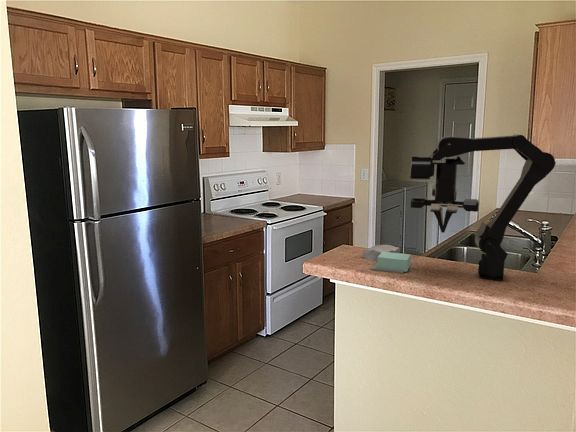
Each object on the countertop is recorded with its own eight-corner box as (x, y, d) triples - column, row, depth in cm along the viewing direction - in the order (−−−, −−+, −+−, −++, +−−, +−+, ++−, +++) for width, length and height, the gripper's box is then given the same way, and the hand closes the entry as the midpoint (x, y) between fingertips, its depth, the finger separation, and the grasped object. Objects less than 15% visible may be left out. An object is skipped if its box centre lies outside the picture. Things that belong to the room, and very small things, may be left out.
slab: (411, 254, 150) (382, 251, 154) (407, 260, 144) (377, 257, 148) (410, 265, 151) (382, 262, 155) (406, 271, 145) (377, 268, 148)
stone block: (360, 264, 161) (387, 263, 155) (358, 250, 161) (385, 248, 155) (376, 257, 170) (402, 256, 164) (374, 244, 170) (400, 242, 164)
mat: (407, 266, 152) (407, 265, 152) (403, 273, 144) (403, 272, 144) (376, 262, 156) (376, 261, 155) (370, 269, 148) (370, 268, 148)
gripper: (481, 178, 143) (477, 229, 146) (417, 176, 150) (415, 224, 153) (479, 182, 133) (476, 237, 136) (411, 179, 140) (409, 231, 143)
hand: (442, 232), depth 142 cm, fingers closed
